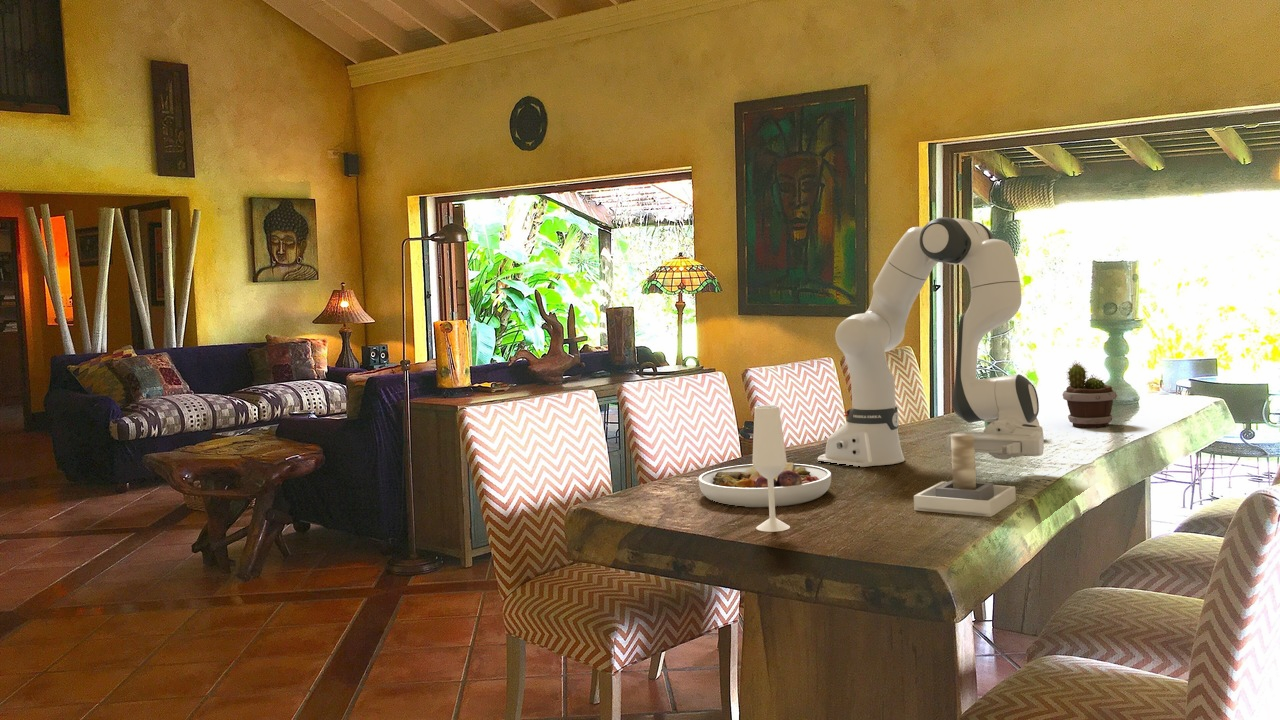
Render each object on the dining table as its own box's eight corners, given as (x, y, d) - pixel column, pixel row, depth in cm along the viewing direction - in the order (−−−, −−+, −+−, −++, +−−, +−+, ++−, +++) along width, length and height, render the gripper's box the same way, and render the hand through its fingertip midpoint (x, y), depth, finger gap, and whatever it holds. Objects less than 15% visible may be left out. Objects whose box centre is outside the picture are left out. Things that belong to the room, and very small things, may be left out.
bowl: (678, 494, 236) (676, 461, 235) (789, 478, 247) (787, 447, 246) (737, 517, 208) (735, 480, 207) (858, 499, 219) (856, 463, 218)
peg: (950, 503, 205) (947, 436, 204) (958, 499, 208) (955, 433, 207) (972, 505, 202) (969, 437, 201) (979, 501, 205) (977, 434, 205)
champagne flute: (751, 525, 199) (744, 406, 197) (782, 521, 200) (776, 403, 199) (762, 533, 192) (756, 410, 191) (795, 529, 194) (789, 407, 192)
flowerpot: (1110, 421, 303) (1108, 356, 302) (1122, 428, 288) (1120, 360, 287) (1059, 422, 307) (1057, 358, 305) (1069, 430, 292) (1066, 362, 290)
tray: (914, 510, 204) (913, 490, 203) (942, 495, 216) (941, 476, 216) (991, 516, 194) (990, 496, 194) (1015, 500, 206) (1015, 481, 206)
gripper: (957, 423, 231) (935, 432, 220) (1049, 426, 219) (1030, 436, 208) (958, 450, 231) (936, 460, 221) (1050, 455, 219) (1031, 466, 208)
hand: (983, 448), depth 214 cm, fingers open, 8 cm apart
